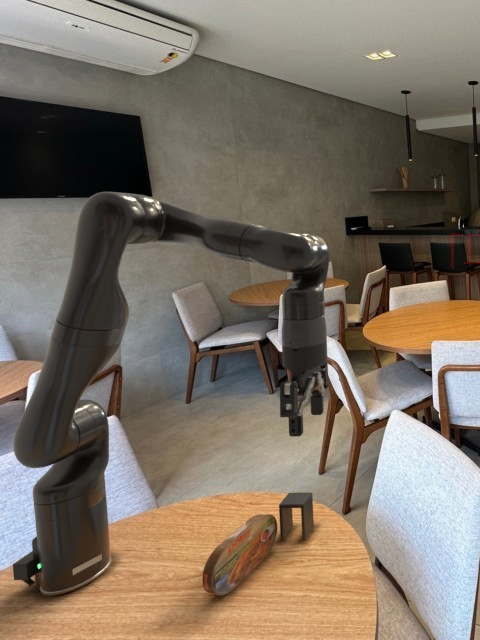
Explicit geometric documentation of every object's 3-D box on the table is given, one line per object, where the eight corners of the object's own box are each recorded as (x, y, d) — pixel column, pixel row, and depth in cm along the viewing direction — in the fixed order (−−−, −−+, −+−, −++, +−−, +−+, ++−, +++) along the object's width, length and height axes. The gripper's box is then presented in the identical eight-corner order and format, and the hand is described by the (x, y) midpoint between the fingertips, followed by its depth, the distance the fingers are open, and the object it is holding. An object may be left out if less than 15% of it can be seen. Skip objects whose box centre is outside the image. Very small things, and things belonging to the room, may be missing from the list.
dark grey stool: (280, 540, 87) (278, 504, 87) (290, 527, 91) (288, 492, 91) (305, 540, 87) (303, 504, 87) (313, 526, 91) (312, 492, 91)
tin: (214, 608, 72) (212, 562, 71) (199, 605, 72) (197, 559, 72) (279, 543, 86) (277, 505, 86) (266, 541, 87) (265, 503, 87)
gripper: (302, 331, 84) (305, 408, 85) (262, 351, 70) (265, 444, 71) (339, 330, 84) (341, 408, 85) (307, 351, 70) (310, 443, 71)
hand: (307, 424), depth 78 cm, fingers open, 8 cm apart
